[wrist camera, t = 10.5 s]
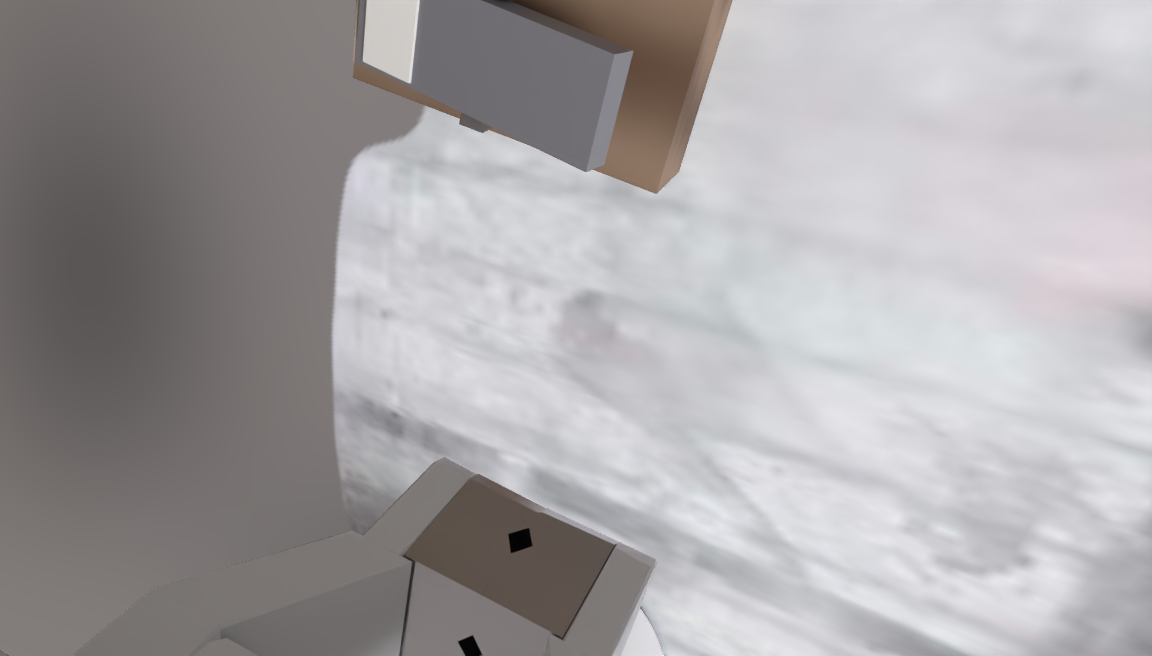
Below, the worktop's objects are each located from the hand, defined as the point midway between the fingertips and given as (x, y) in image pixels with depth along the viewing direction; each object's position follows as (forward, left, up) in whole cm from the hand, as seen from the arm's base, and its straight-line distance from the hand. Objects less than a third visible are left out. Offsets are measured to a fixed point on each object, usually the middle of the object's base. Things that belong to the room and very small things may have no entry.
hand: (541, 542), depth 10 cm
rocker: (-1, +11, -19) cm, 22 cm away
